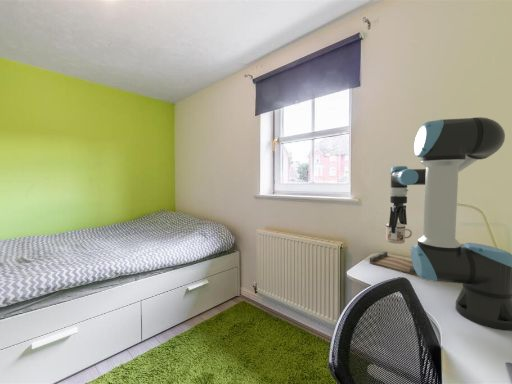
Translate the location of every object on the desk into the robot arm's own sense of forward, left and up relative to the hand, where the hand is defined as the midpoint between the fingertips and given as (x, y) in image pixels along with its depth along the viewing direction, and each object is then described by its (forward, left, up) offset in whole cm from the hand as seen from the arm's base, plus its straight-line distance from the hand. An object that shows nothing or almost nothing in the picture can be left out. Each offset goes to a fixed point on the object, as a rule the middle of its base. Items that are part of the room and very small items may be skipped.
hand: (397, 237), depth 124 cm
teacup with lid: (+1, 0, -3) cm, 3 cm away
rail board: (0, 0, -15) cm, 15 cm away
